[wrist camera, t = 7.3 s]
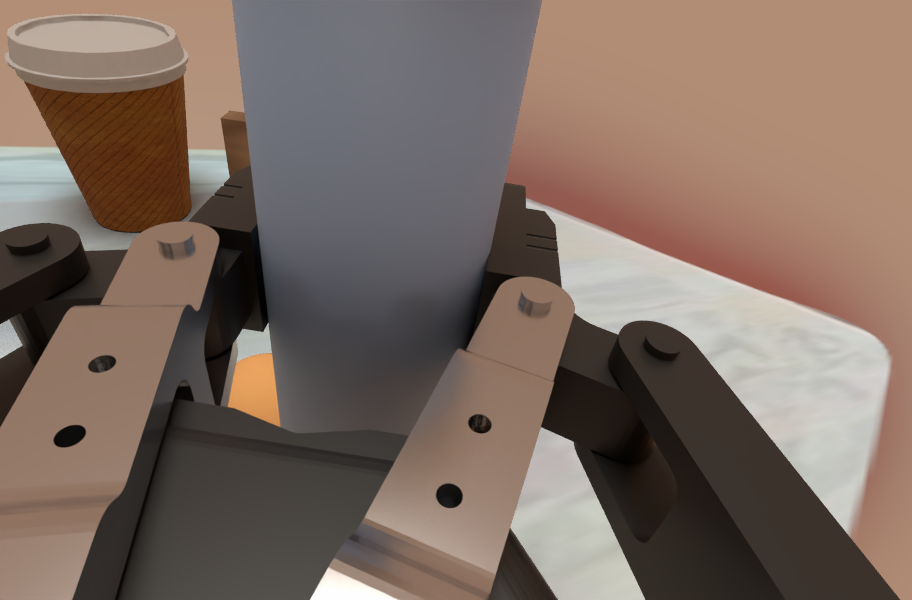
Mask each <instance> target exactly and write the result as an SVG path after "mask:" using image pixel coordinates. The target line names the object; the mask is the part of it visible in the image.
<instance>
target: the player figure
mask: <svg viewBox="0 0 912 600" xmlns="http://www.w3.org/2000/svg"><path fill="white" fill-rule="evenodd" d="M541 3H542V0H232V4H233V12H234V22H235V31H236V40H237V49H238V57H239V66H240V75H241V83H242V93H243V101H244V109H245V119H246V128H247V137H248V145H249V154H250V163H251V172H252V181H253V189H254V198H255V207H256V216H257V225H258V233H259V242H260V251H261V260H262V269H263V278H264V286H265V295H266V304H267V313H268V322H269V330H270V339H271V348H272V357H273V366H274V374H275V383H276V392H277V401H278V410H279V418H280V427H281V428H284V429H286V430H288V431H291V432H295V433H318V432H335V431H353V430H376V431H382V432H389V433H395V434H401V435H408V436H409V435H410V433H411V431H412V430H413V428H414V426H415V424H416V422H417V420H418V419H419V417H420V415H421V413H422V411H423V410H424V408H425V406H426V404H427V402H428V400H429V399H430V397H431V395H432V393H433V391H434V389H435V388H436V386H437V384H438V382H439V380H440V379H441V377H442V375H443V373H444V371H445V369H446V368H447V366H448V364H449V362H450V360H451V358H452V357H453V355H454V353H455V352H456V350H457V349H458V348H462V349H465V350H466V349H467V347H468V345H469V343H470V340H471V335H472V330H473V325H474V320H475V315H476V311H477V306H478V301H479V296H480V291H481V286H482V281H483V276H484V271H485V266H486V262H487V257H488V255H489V253H490V250H491V245H492V240H493V236H494V231H495V226H496V221H497V216H498V211H499V207H500V202H501V197H502V192H503V187H504V182H505V177H506V172H507V168H508V163H509V158H510V153H511V148H512V143H513V139H514V133H515V129H516V124H517V119H518V115H519V110H520V105H521V100H522V95H523V90H524V85H525V81H526V76H527V71H528V66H529V61H530V56H531V51H532V47H533V42H534V37H535V32H536V27H537V22H538V18H539V12H540V8H541Z"/></svg>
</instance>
